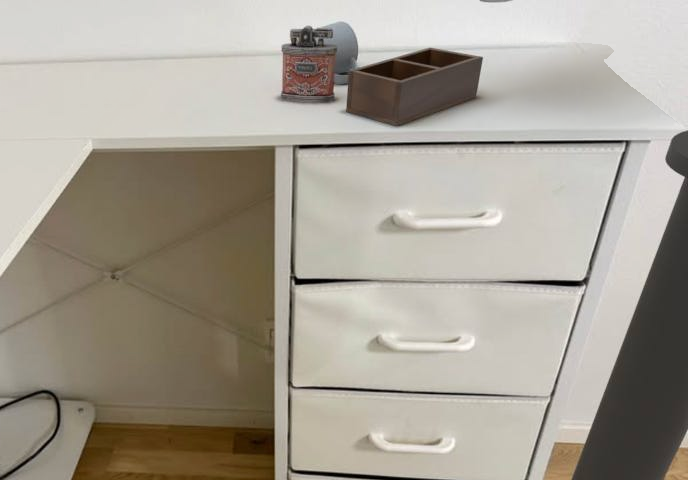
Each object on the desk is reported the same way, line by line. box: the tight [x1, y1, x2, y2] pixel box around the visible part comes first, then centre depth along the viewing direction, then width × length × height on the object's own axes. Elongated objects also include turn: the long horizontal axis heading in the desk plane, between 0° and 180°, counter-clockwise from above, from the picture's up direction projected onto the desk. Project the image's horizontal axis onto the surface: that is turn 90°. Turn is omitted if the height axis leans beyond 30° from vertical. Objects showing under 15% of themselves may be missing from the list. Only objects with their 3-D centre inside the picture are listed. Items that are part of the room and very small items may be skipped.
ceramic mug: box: [296, 21, 359, 85], centre depth 108 cm, size 11×8×8 cm
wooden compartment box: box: [345, 47, 484, 127], centre depth 95 cm, size 9×17×6 cm, turn 128°
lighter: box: [280, 25, 337, 103], centre depth 99 cm, size 8×3×10 cm, turn 70°
